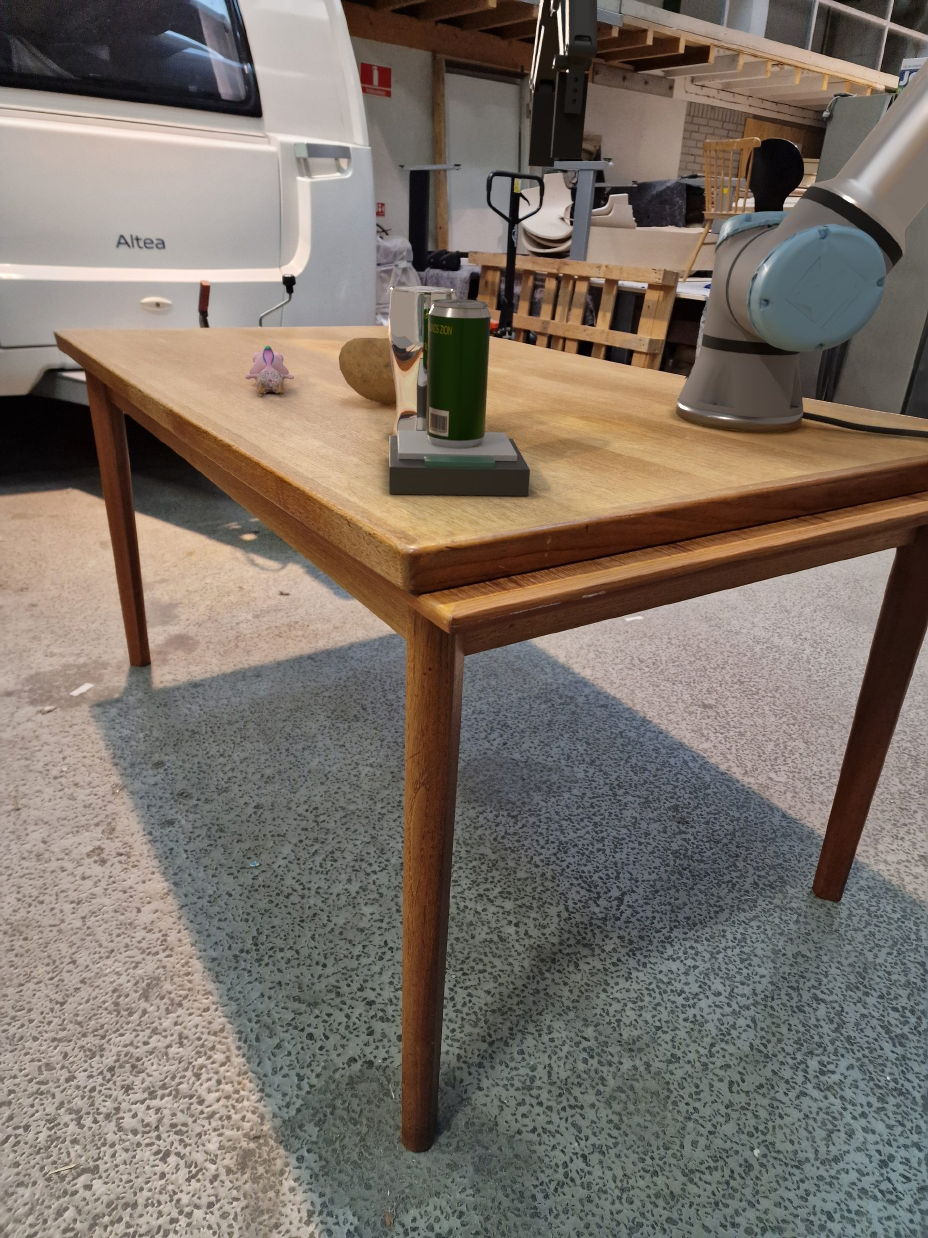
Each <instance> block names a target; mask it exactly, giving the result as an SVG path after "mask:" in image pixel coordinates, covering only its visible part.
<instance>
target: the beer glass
mask: <svg viewBox="0 0 928 1238" xmlns="http://www.w3.org/2000/svg"><path fill="white" fill-rule="evenodd" d="M438 299H457V290H456V289H455V288H452V287H451V288H450V287H444V286H443V287H442V286H431V285H430V286H429V285H394V286H391V287H390V297H389V310H388V327H387V328H388V330H387V332H388V333H387V334H388V338H389V351H390V360H391V366H392V373H393V379H394V385H395V392H396V405H395V416H394V422H393V428H392V434H391V436H398V430H411V431H426V413H427V363H428V314H429V311H430V309H431V307H432V304H431V301H432V300H438Z"/></svg>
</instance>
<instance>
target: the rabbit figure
mask: <svg viewBox="0 0 928 1238" xmlns="http://www.w3.org/2000/svg"><path fill="white" fill-rule="evenodd" d="M252 361H253V365H252V366H251V367H250V369H249V374H246V375H245V376H244V378H245V380H252V379H254V380H255V385H256V389H257V391H258V392H257V394H258V395H259V394H260V395H262V394H267V393H268V392H274V393H275V394H280V396H281V397H282V396H283V395H282V393H283V394H285V381H284V380H285V379H289V380H294V379H295V376H294V375H292V374H290V372H289V370H288V368H287V367H286V366H285V365H284V361H285V358H284V355H283V354H282V353H280V352H274V351H273V349H272V347H271V346H270V345H269V344H267V345H265V346H264V349H263V351H262V352H260V351H259V352H254V353H253V355H252Z"/></svg>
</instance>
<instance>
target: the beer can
mask: <svg viewBox="0 0 928 1238" xmlns="http://www.w3.org/2000/svg"><path fill="white" fill-rule="evenodd" d="M431 304H432V307H431V309H430V311H429V314H428V363H427V413H426V434H427V437H428V439H429V442H430V443H431V444H434V445H436V446H440V447H446V448H471V447H476V446H479V445H480V444H481V442H482V440H483V438H484V436H485V432H486V419H487V418H486V417H487V399H488V398H487V397H488V376H489V357H490V341H491V339H490V337H491V321H492V320H491V319H492V315H491V312H490V309H489V306H490V304H489V302H487V301H483V300H474V299H458V298H456V299H438V300H432V301H431Z"/></svg>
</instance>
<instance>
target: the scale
mask: <svg viewBox="0 0 928 1238" xmlns="http://www.w3.org/2000/svg"><path fill="white" fill-rule="evenodd" d="M388 475H389V476H388V480H389V481H388V493H389V494H390V495H419V496H420V495H421V496H422V495H423V496H424V495H425V496H426V495H427V496H428V495H429V496H440V495H441V496H485V497H486V496H491V497H493V496H494V497H499V496H500V497H528V496H529V490H530V489H529V488H530V477H531V469H530V467H529V465H528V464H527V462H526V459H525V458H524V456H523V455H522V453H521V451H520V449H519V448H518V445H517V443H516V442H515V441H514V439H513V438H512V437H511V438H509V437H508V435H507V434H506V432H495V431H494V432H493V431H485V436H484V438H483V440H482V442H481V444H480V445H479V446H476V447H471V448H446V447H440V446H436V445H434V444H431V443H430V442H429V439H428V437H427V434H426V431H411V430H398V436H392V435H389V436H388Z"/></svg>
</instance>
